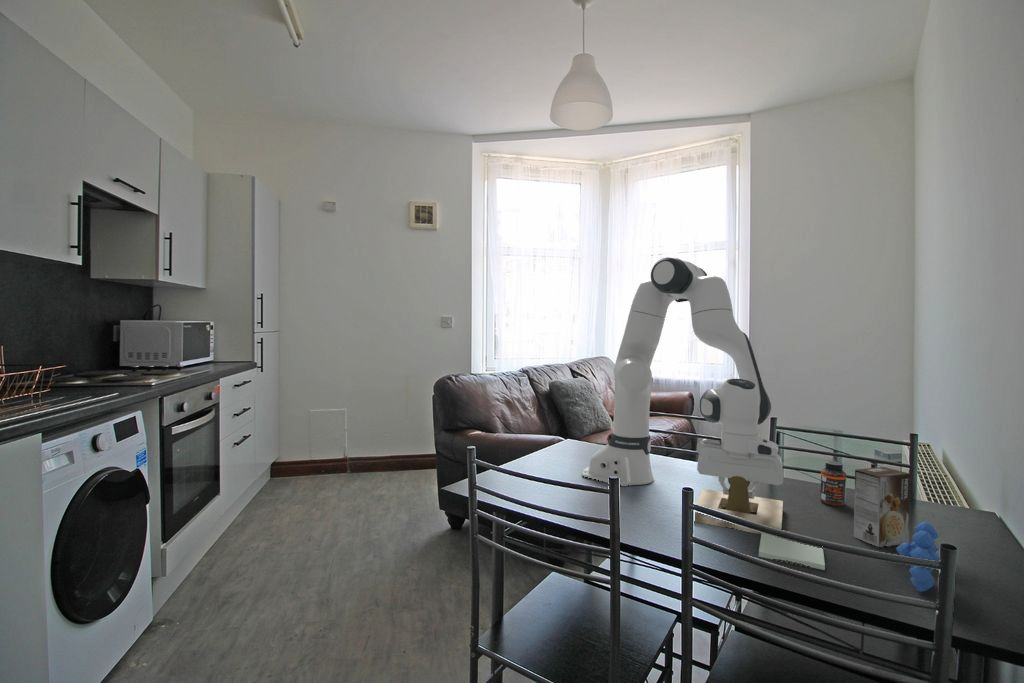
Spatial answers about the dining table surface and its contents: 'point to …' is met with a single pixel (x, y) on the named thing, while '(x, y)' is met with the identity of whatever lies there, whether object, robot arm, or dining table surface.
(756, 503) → the socket plate
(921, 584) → the grapes
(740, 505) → the cork
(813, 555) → the pad
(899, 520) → the cookie box
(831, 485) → the supplement bottle
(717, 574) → the dining table surface
